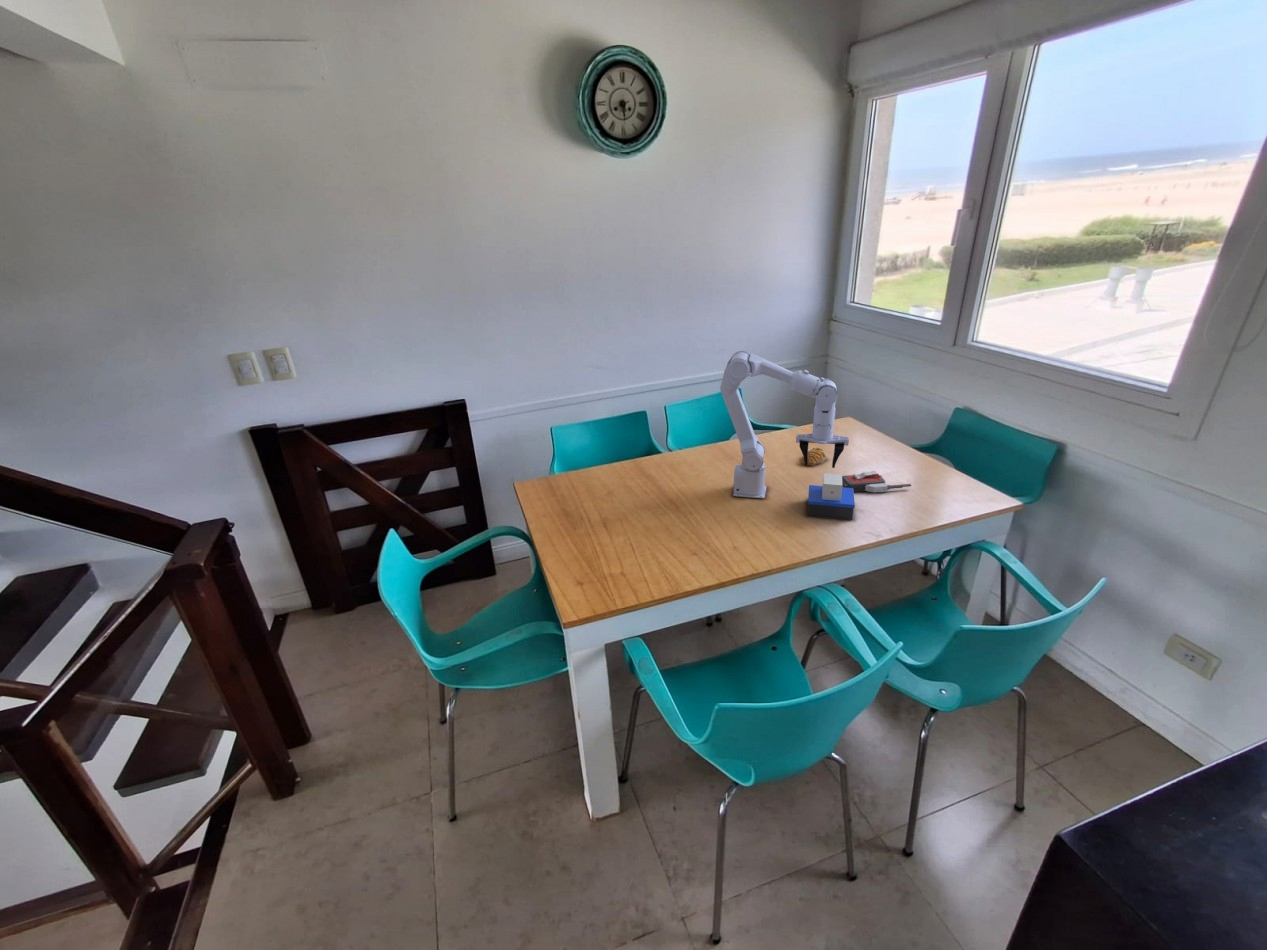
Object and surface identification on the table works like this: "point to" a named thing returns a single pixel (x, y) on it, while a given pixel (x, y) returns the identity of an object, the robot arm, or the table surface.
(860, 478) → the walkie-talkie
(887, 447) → the table surface
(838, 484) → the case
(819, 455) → the pastry
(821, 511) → the container
